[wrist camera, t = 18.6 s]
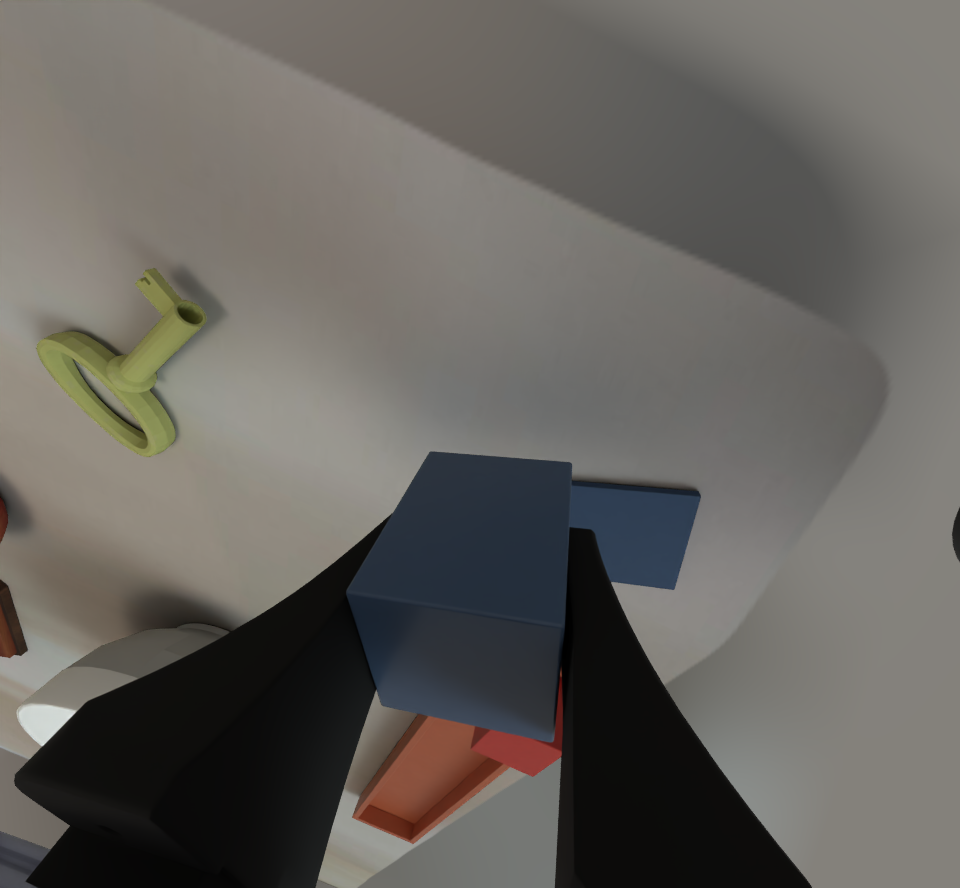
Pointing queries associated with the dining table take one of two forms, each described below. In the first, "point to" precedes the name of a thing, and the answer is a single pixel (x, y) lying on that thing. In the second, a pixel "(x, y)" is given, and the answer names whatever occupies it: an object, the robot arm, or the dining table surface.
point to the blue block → (471, 593)
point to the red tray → (425, 779)
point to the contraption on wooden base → (9, 626)
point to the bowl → (108, 674)
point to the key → (127, 368)
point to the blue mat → (636, 529)
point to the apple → (3, 519)
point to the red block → (521, 746)
